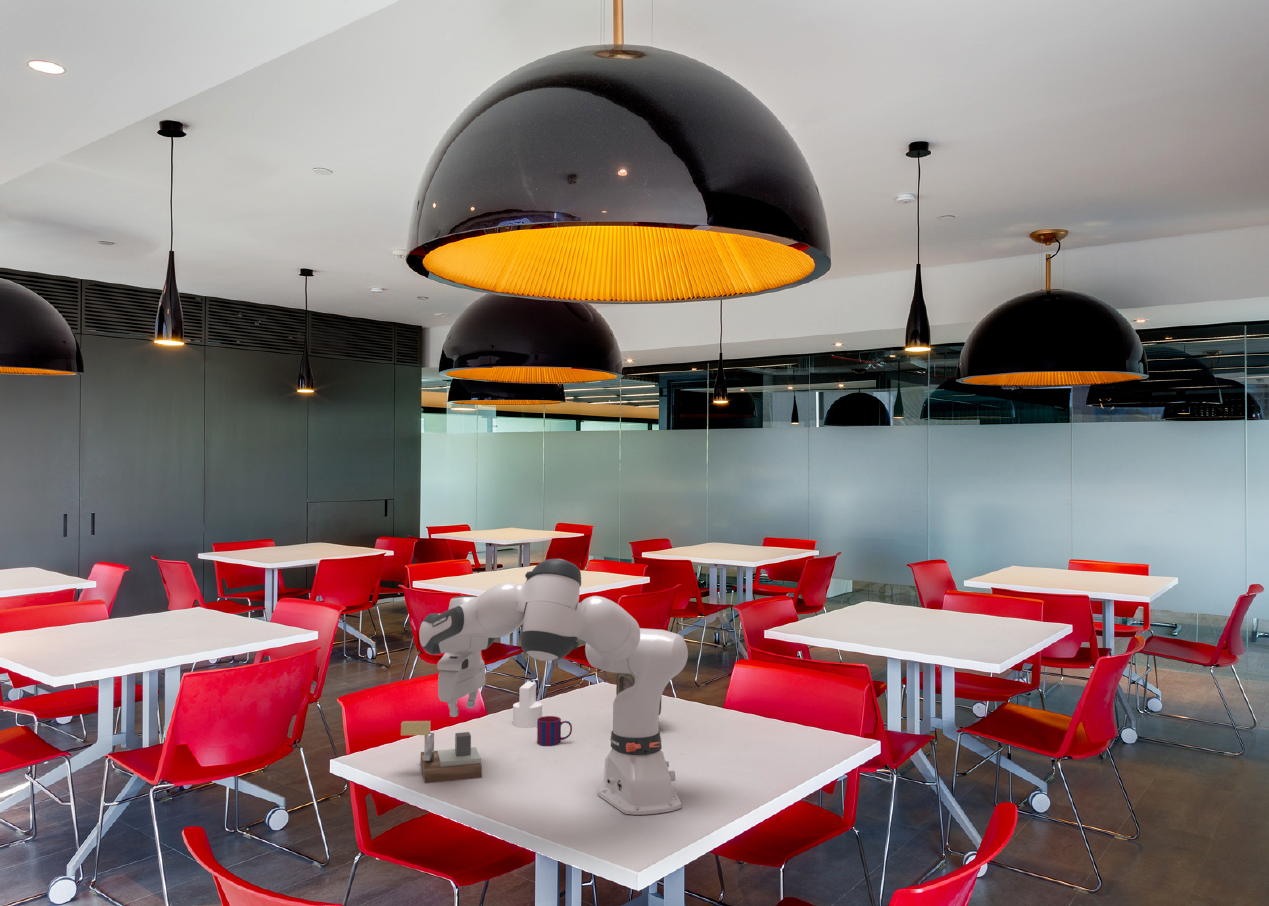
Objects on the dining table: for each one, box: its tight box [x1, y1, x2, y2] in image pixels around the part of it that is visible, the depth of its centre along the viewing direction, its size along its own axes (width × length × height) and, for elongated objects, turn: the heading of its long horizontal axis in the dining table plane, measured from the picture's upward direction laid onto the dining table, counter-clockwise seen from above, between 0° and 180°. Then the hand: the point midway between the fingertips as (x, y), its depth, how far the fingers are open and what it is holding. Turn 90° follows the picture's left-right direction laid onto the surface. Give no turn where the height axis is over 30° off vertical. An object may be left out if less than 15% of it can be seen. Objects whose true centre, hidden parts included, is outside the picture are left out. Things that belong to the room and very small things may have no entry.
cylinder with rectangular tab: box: [512, 681, 543, 729], centre depth 265 cm, size 9×9×12 cm
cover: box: [436, 731, 482, 767], centre depth 219 cm, size 10×10×6 cm
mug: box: [536, 715, 573, 747], centre depth 244 cm, size 7×10×7 cm
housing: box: [420, 750, 483, 784], centre depth 219 cm, size 16×14×3 cm
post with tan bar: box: [400, 720, 435, 762], centre depth 215 cm, size 8×5×10 cm, turn 94°
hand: (462, 711), depth 220 cm, fingers open, 8 cm apart
